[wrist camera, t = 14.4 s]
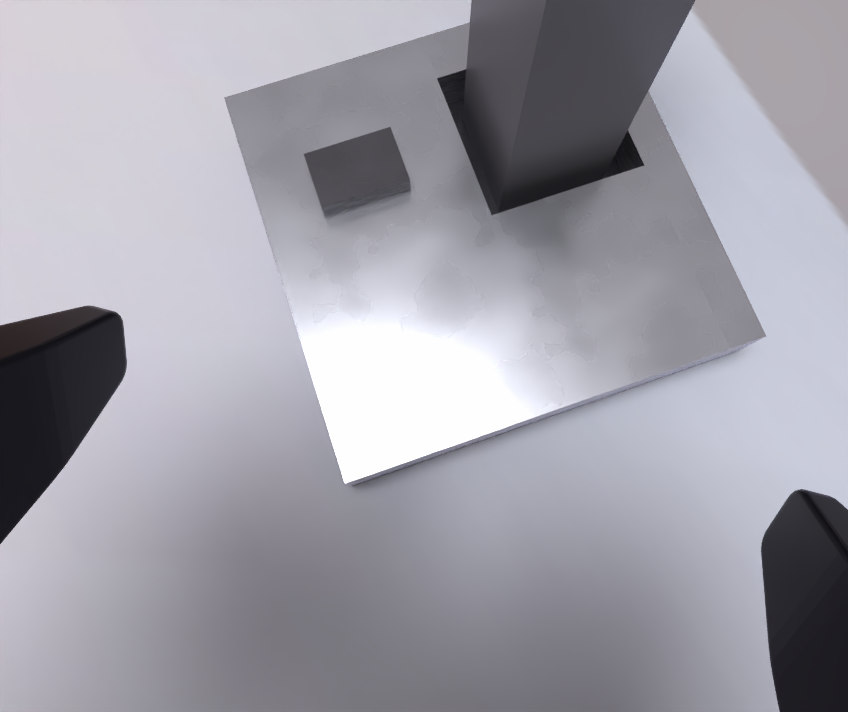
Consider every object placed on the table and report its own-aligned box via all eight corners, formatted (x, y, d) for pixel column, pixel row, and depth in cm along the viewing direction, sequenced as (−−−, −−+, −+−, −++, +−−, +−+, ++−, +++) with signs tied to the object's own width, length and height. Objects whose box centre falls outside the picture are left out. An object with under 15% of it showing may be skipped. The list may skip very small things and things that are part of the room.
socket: (352, 485, 22) (341, 482, 19) (240, 129, 25) (216, 83, 22) (737, 350, 23) (779, 329, 20) (583, 23, 26) (602, -34, 23)
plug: (496, 215, 24) (586, -186, 10) (458, 116, 24) (493, -375, 11) (605, 181, 24) (838, -256, 10) (563, 84, 25) (727, -434, 11)
